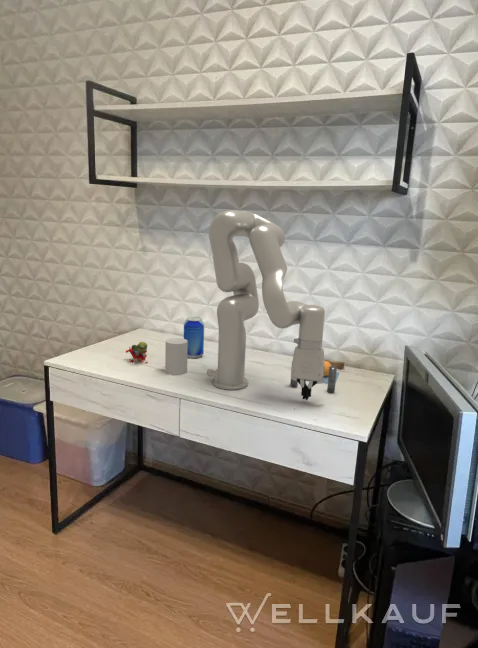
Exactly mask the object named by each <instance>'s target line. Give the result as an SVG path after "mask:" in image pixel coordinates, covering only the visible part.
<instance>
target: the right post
mask: <svg viewBox="0 0 478 648" xmlns="http://www.w3.org/2000/svg"><path fill="white" fill-rule="evenodd" d="M337 370H338V369H337V367H334V366H330V367H329V375H328V384H327V387H326V389H327V390H326V392H327V393H328V394H335V391H336V383H337V381H336V372H338V371H337Z"/></svg>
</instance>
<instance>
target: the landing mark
mask: <svg viewBox="0 0 478 648" xmlns="http://www.w3.org/2000/svg"><path fill="white" fill-rule="evenodd" d="M339 375H340V372H338V371H337V372H336V382H337V380H338V378H339ZM306 382H309V380H306ZM323 384H326V385H328V376H325V377H324V383H323Z"/></svg>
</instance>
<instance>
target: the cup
mask: <svg viewBox="0 0 478 648" xmlns="http://www.w3.org/2000/svg"><path fill="white" fill-rule="evenodd" d="M187 350H188V341H187V340H186V339H184V338H180V337H171V338H168V339H166V340H165V355H164V356H165V363H164V364H165V366H164V367H165V368H164V370H165V371H164V372H165V373H166V374H168V375H169V374H171V375H170V376H183V375H185V373H186V374H187V373H188V358H187ZM182 374H183V375H182Z"/></svg>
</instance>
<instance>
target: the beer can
mask: <svg viewBox="0 0 478 648" xmlns="http://www.w3.org/2000/svg"><path fill="white" fill-rule="evenodd" d="M183 339H186V340H187V341H188V350H187V357H188V358H187V359H199V358H202V357H203V356H204V354H205V353H204V348H205V347H204V346H205V343H204V342H205V323H204V321H203V318H202V317H200V316H199V317H197V316H189V317H186V318H185V321H184V322H183Z"/></svg>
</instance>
